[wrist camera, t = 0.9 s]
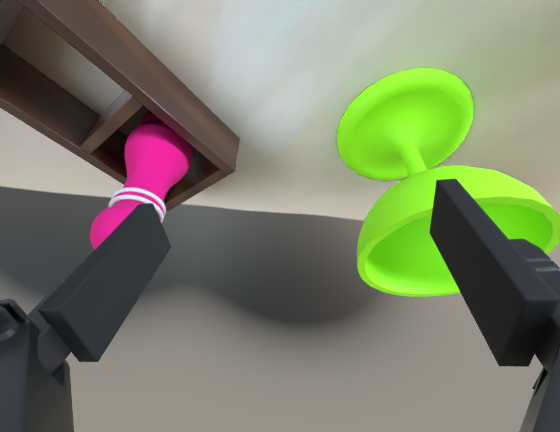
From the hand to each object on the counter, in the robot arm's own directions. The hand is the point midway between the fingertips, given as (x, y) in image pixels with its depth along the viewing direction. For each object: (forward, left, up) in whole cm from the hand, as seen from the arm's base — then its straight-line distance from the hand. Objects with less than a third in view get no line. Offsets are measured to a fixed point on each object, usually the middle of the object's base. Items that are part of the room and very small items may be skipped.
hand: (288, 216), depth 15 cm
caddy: (-5, -19, -23) cm, 30 cm away
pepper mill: (+1, -19, -23) cm, 30 cm away
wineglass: (+18, +4, -23) cm, 30 cm away
